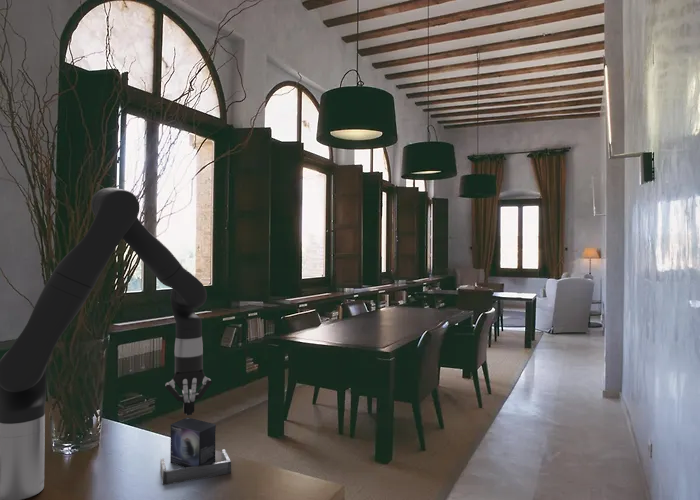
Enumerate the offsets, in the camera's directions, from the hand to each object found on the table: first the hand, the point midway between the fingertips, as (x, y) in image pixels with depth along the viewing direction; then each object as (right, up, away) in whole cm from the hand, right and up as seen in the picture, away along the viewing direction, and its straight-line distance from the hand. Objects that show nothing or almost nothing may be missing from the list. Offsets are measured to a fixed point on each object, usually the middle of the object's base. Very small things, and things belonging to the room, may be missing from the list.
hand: (188, 414), depth 141 cm
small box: (+4, -10, -9) cm, 14 cm away
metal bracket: (+6, -10, -14) cm, 18 cm away
